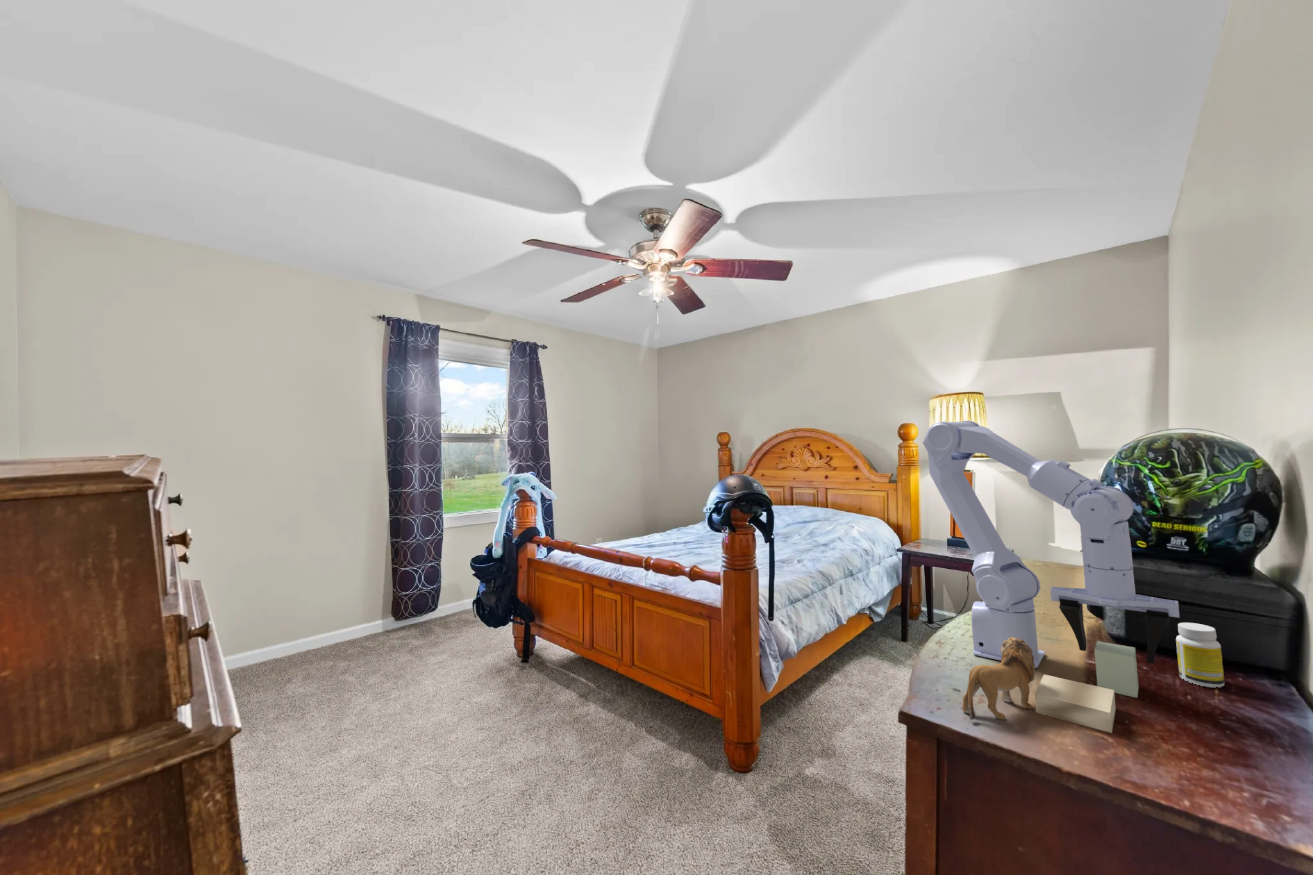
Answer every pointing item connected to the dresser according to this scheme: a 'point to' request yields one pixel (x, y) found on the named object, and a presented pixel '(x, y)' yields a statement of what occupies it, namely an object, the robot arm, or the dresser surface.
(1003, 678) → the lion figurine
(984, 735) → the dresser surface
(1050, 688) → the pale maple block
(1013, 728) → the dresser surface
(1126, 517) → the robot arm
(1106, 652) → the sage green block
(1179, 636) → the supplement bottle
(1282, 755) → the dresser surface
